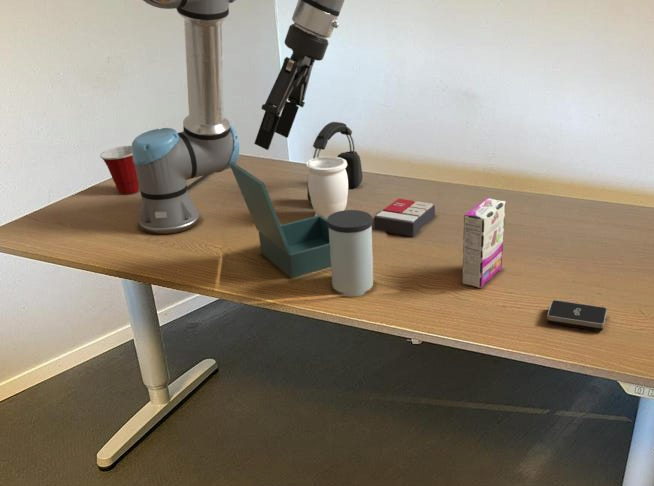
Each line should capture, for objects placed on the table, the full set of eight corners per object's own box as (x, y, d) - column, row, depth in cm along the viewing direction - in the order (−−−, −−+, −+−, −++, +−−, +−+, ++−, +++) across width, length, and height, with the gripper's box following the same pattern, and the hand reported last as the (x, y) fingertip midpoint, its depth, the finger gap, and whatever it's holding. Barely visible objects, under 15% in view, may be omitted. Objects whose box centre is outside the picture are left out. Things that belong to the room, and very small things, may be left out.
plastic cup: (113, 185, 216) (103, 145, 209) (150, 183, 217) (141, 143, 210) (105, 198, 207) (95, 157, 200) (144, 196, 208) (135, 155, 201)
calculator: (435, 202, 190) (413, 220, 178) (435, 218, 192) (413, 236, 180) (397, 196, 194) (373, 213, 182) (397, 212, 196) (373, 230, 184)
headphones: (346, 180, 216) (343, 112, 204) (365, 183, 213) (362, 114, 202) (305, 205, 199) (299, 132, 188) (325, 209, 197) (320, 135, 186)
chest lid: (232, 161, 158) (228, 162, 158) (264, 182, 147) (260, 184, 147) (259, 228, 170) (256, 229, 170) (291, 252, 158) (288, 254, 158)
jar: (344, 227, 187) (341, 170, 178) (305, 224, 188) (301, 168, 180) (353, 211, 195) (351, 156, 187) (317, 209, 197) (313, 154, 189)
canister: (330, 278, 162) (325, 211, 153) (371, 275, 163) (369, 208, 154) (333, 298, 155) (328, 228, 146) (376, 295, 155) (374, 225, 147)
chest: (322, 238, 181) (320, 214, 177) (356, 262, 169) (355, 237, 166) (261, 255, 173) (258, 230, 170) (292, 281, 162) (290, 255, 158)
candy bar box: (482, 264, 167) (486, 196, 158) (502, 269, 165) (507, 200, 156) (460, 284, 159) (463, 213, 150) (480, 289, 157) (485, 218, 148)
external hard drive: (551, 308, 149) (552, 299, 148) (606, 316, 146) (608, 307, 145) (545, 324, 144) (547, 315, 143) (603, 333, 141) (604, 324, 140)
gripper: (313, 44, 120) (271, 161, 130) (342, 37, 142) (304, 138, 152) (272, 23, 120) (232, 142, 129) (308, 20, 142) (272, 122, 151)
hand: (271, 140), depth 141 cm, fingers open, 13 cm apart
